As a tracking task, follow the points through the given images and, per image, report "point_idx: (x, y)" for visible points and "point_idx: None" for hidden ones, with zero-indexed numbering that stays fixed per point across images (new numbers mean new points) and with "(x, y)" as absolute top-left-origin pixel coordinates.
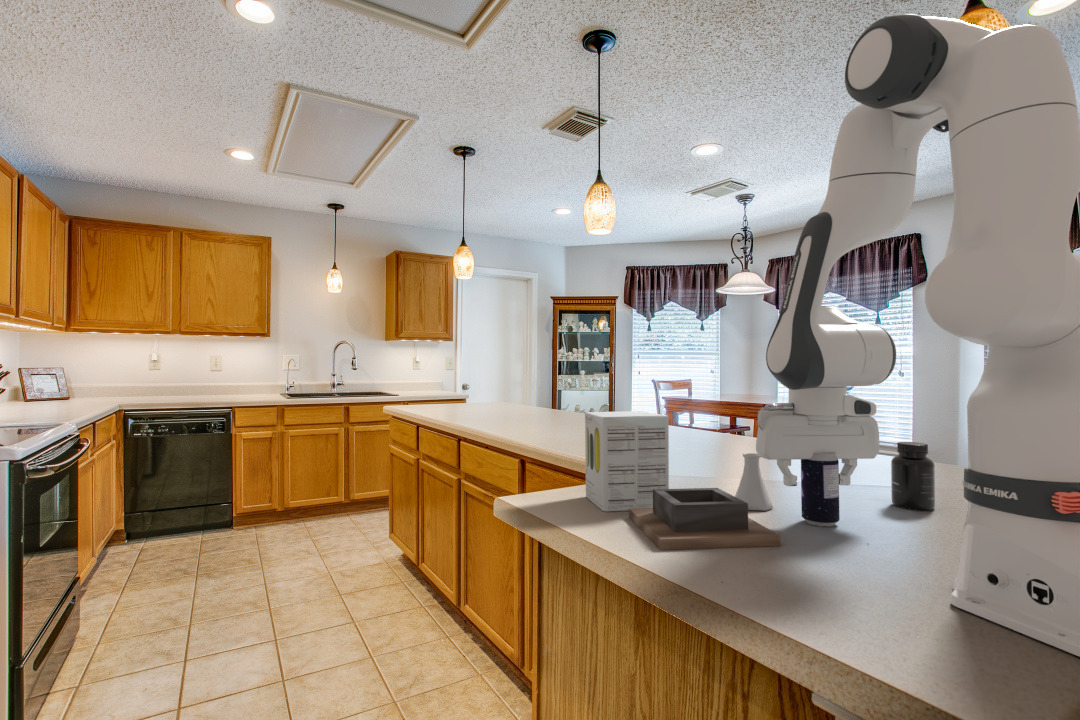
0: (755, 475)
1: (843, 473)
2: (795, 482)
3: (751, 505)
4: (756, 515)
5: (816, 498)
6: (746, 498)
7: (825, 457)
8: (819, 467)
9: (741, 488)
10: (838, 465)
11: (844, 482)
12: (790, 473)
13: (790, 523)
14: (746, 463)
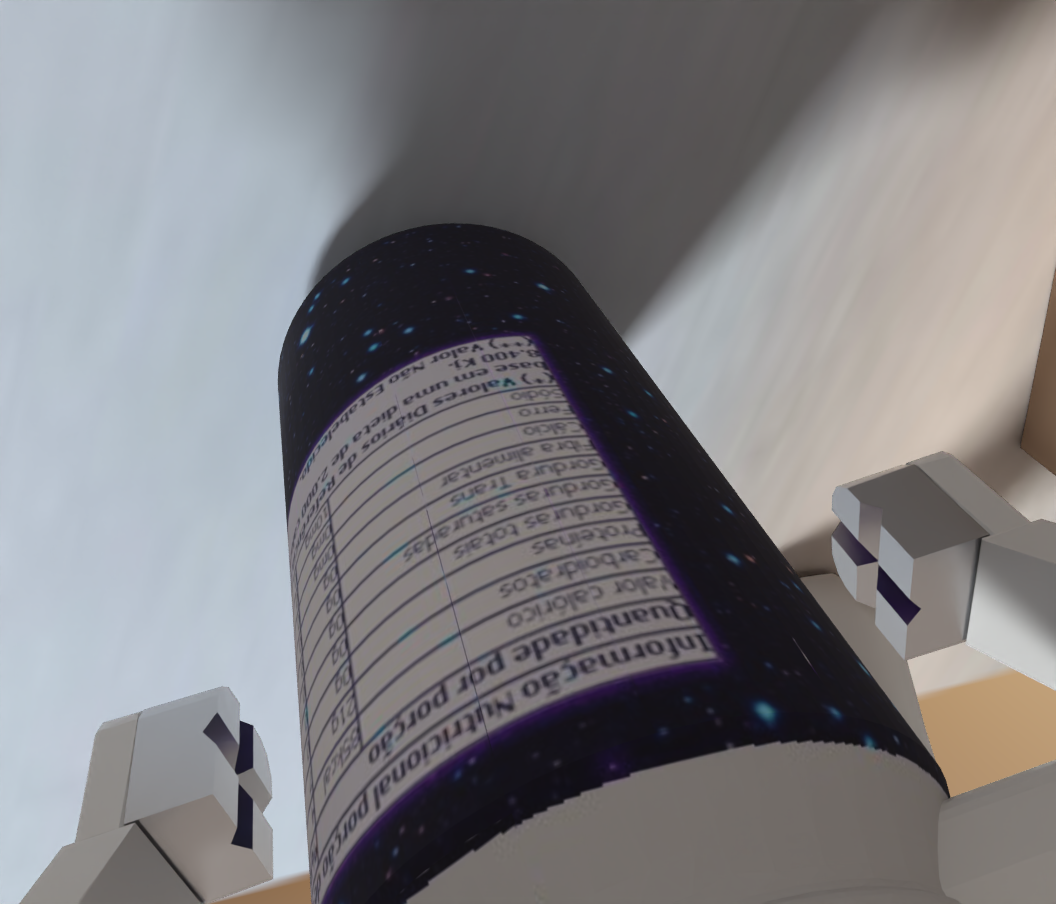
0: None
1: (170, 880)
2: (884, 496)
3: (835, 602)
4: (839, 474)
5: (607, 345)
6: (877, 652)
7: (724, 852)
8: (758, 625)
9: (925, 733)
10: (338, 836)
11: (184, 717)
12: (1038, 551)
13: (695, 302)
14: None
